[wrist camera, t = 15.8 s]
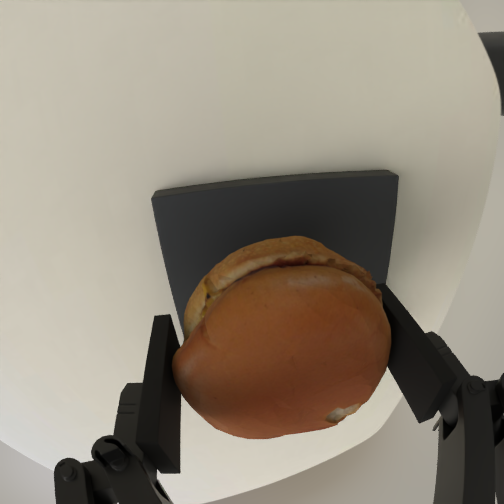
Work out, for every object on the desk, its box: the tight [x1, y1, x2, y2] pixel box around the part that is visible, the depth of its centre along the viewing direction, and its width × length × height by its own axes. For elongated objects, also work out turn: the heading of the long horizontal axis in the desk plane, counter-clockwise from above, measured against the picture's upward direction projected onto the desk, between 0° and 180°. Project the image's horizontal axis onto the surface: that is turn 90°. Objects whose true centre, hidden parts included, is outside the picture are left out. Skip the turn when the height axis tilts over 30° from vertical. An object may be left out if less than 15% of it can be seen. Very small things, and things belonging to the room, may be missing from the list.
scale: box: [151, 170, 399, 336], centre depth 19 cm, size 14×16×3 cm
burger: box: [172, 236, 391, 439], centre depth 13 cm, size 10×9×5 cm
